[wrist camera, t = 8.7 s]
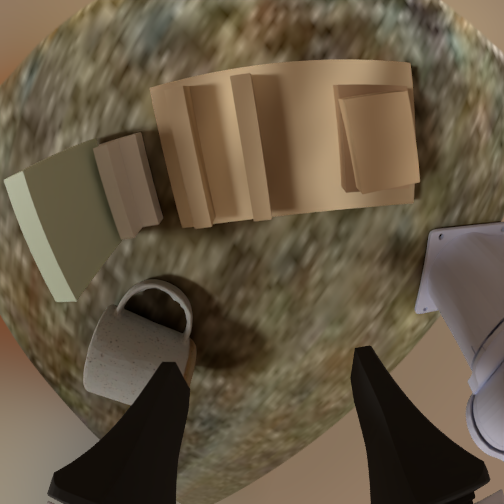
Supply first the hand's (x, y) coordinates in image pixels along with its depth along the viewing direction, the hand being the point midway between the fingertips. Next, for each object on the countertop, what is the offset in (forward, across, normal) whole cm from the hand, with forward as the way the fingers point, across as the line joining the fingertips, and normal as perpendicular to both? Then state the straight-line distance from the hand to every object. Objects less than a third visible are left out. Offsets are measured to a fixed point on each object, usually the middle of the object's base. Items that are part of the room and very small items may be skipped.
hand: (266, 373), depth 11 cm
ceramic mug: (+11, +11, +6) cm, 16 cm away
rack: (+10, -2, -7) cm, 13 cm away
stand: (+10, +10, -6) cm, 16 cm away
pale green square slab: (+9, +10, -6) cm, 15 cm away
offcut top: (+8, -7, -7) cm, 13 cm away
